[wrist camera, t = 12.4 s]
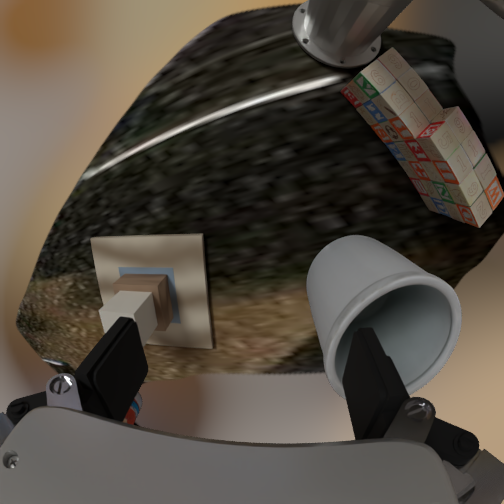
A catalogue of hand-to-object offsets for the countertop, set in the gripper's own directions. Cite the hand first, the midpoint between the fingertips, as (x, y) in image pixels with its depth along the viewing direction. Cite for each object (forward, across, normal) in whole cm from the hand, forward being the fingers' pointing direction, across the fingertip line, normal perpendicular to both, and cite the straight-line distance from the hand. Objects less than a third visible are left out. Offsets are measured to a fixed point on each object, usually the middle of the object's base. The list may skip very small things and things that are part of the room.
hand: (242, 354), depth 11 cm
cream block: (+21, +17, +11) cm, 29 cm away
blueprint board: (+26, +17, +12) cm, 33 cm away
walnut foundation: (+25, +17, +12) cm, 32 cm away
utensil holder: (+27, -13, +9) cm, 32 cm away
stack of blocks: (+28, -20, -12) cm, 36 cm away
